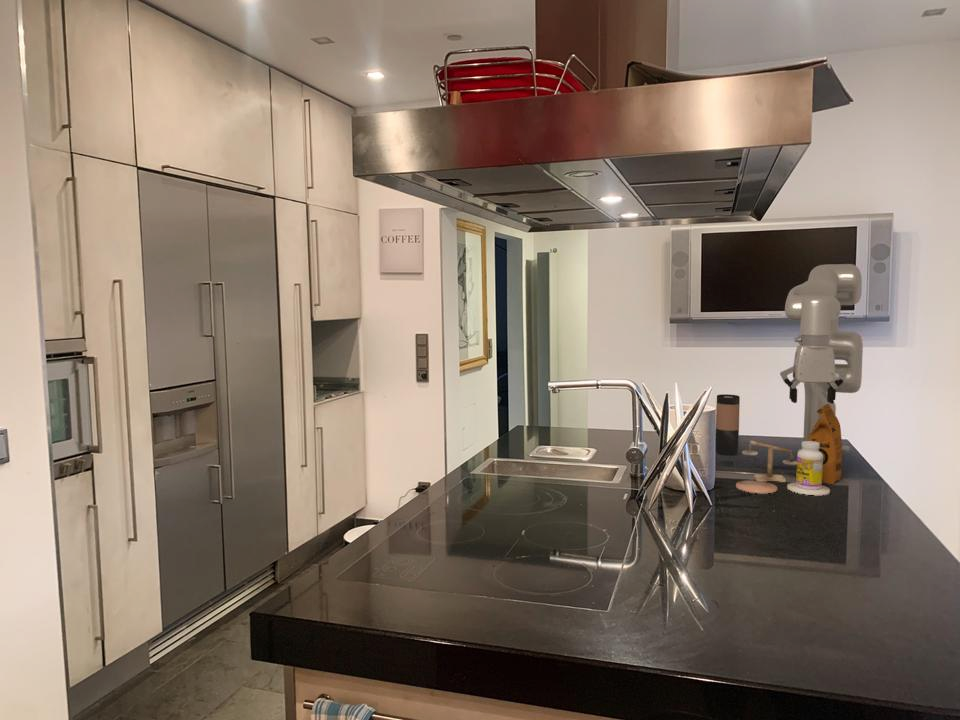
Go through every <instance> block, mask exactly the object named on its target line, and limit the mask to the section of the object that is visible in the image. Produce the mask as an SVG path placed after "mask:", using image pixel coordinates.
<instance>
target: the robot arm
mask: <svg viewBox="0 0 960 720" xmlns="http://www.w3.org/2000/svg"><path fill="white" fill-rule="evenodd" d="M862 286H863V280H862V272H861V270H860V269H859V267H858V266H856V265H855V264H853V263H843V264H841V263H839V264H838V263H837V264H831V263H828V264H819V265H817V266H815V267H813V268H812V269H811V271H810V273H809V275H808V277H807V280H806V281H805V282H803V283H801V284H799V285H796V286H794V287H793V288H791V289H790V290H789V292H788V294H787V297H786V300H785V305H784V314H785V317H786V318H787V319H788V321H791V322H800V324H799V325H800V327H799V328H800V329H799V330H800V331H799V336H797V337H794V342H795V343H798V344H799V345H797V347H796V349H795V354H794V360H793V366H791V367H789V368H786V369H785V370H783V371H781V372H779V374H780V377H781V379H782V381H783V382H784V384H786V385H787V387H788V388H789V396H788V397H789V400H790V401H791V402H792V403H793V404H796V403H797V402H798V389H797V386H799V384H800V383H803V386H804V387H803V388H804V413H803V415H804V418H803V419H804V420H803V438H802V440H803V441H807V440H808V437H809V435H810V433H811V432H812V430H813V428H814V426H815V424H816V423H817V422H818V420H819V419H820V418H821V417H822V415H821V414H819V413H817V411H818V410H819V409H820V408H823V407H824V405H826V404H829V405H830V407H831V409H832V410H833V412H834V414H835V415H836V411H837V409H836V408H837V406H836V403H835V401H836V395H837V393H844V394H846V393H847V394H855V393H857V392H859V391H860V389H861V386H862V377H863V354H864V353H863V352H864V350H863V349H864V346H863V339H862V335H861V334H859V333H858V332H857V331H846V330H844V331H840V330H839V316H840V314H841V309H842V306H853V305H856V304H858V303H859V302H860V300H861V297H862V294H863V293H862V291H863V290H862ZM835 360H836V361H838V360H839V361H844V362H846V363H836V361H835ZM790 374H792V378H793V379H792V380H790V379H789V378H788V375H790ZM803 441H802V442H803ZM800 450H802V448H799V449H798V450H797V453H798V452H799V451H800ZM842 452H846V453H847V452H850V446H849V445H843V444H842Z"/></svg>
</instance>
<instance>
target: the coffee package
mask: <svg viewBox="0 0 960 720" xmlns="http://www.w3.org/2000/svg"><path fill="white" fill-rule="evenodd" d="M817 413H819V414H821V415H822V417H821V418H820V419H819V420H818V422H817V423H816V424H815V426H814V428H813V430H812V432H811V433H810V435H809V437H808V440H807V441H813V442H818V443H820V448H819V452H821V453H822V454H823V468H822V484H825V483H827V484H828V485H834V484H835V483H836V481H840V480H841V479H842V471H843V470H842V469H843V467H842V465H843V464H842V463H843V451H842V445H843V440H842V431H841V423H840V421H839V419H838V417H837V416H836V414H834V412H833V410H832V409H831V407H830V405H829V404H826V405H824V407H823V408H820V409H819V410H818V411H817Z"/></svg>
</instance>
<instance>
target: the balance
mask: <svg viewBox="0 0 960 720" xmlns="http://www.w3.org/2000/svg"><path fill="white" fill-rule="evenodd" d="M753 445H754V446H759V447H761V448H767V470H766V471H767V473H766V474H757V473H755V474H753V478H754V479H755V481H762V482H767V481H779V482H778V483H786V478H785V477H784V476H783V475H782V474H773V469H774V468H773V466H774V465H773V464H774V462H773V461H774V450H775V451H780V452H784V453H788V454H789V455H787V459H783V460H782V464H784V465H787V466H797V459H795V457H796V456H795V455H793V450H792V449H789V448H785V447H780V446H776V445H771V444H766V443H763V442H758V441H754V440H750V441H749V449H745V450H742V451H741V454H742V455H744V456H751V457H753V456H758V455H759V454H758V453H759V452H758V451H755V450H751V449H752V446H753Z"/></svg>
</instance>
